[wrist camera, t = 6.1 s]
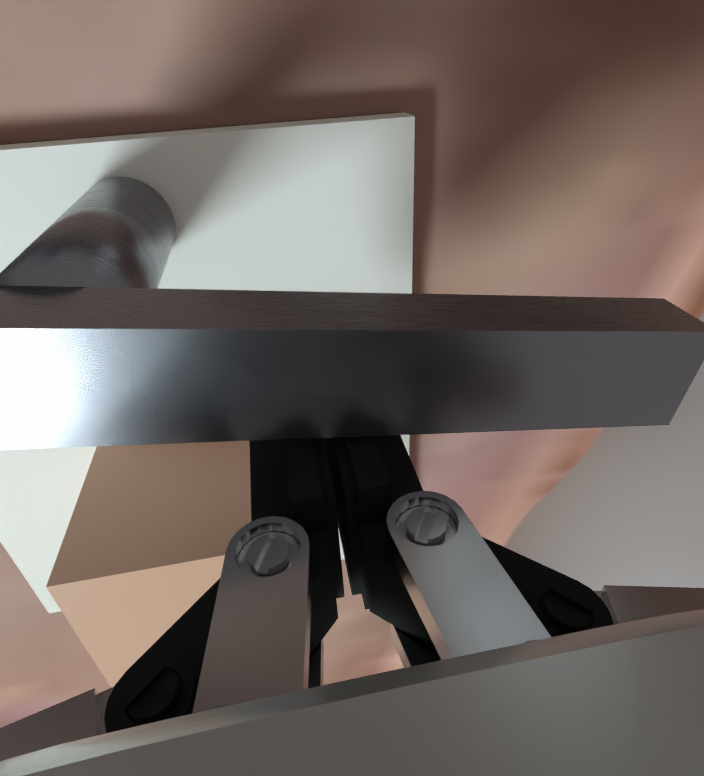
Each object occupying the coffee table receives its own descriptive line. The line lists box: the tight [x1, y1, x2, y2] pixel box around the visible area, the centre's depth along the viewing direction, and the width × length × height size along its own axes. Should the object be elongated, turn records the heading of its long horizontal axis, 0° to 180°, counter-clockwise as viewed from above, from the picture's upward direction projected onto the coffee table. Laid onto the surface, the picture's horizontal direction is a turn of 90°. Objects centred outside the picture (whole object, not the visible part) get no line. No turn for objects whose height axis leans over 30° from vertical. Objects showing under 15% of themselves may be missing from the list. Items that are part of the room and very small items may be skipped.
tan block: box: [46, 441, 251, 688], centre depth 18 cm, size 8×6×6 cm
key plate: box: [0, 112, 415, 613], centre depth 18 cm, size 18×16×1 cm
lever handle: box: [0, 177, 704, 450], centre depth 11 cm, size 13×2×8 cm, turn 84°
